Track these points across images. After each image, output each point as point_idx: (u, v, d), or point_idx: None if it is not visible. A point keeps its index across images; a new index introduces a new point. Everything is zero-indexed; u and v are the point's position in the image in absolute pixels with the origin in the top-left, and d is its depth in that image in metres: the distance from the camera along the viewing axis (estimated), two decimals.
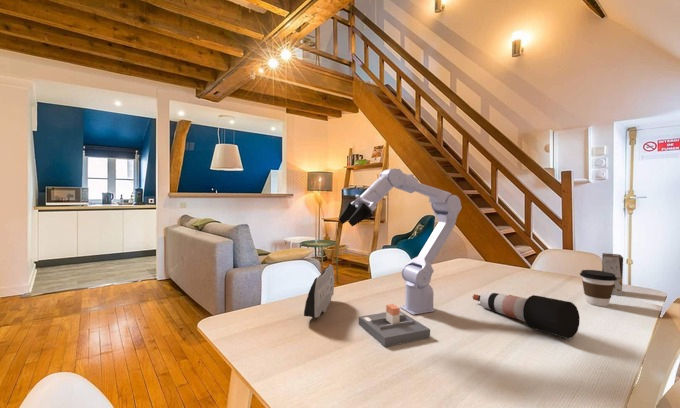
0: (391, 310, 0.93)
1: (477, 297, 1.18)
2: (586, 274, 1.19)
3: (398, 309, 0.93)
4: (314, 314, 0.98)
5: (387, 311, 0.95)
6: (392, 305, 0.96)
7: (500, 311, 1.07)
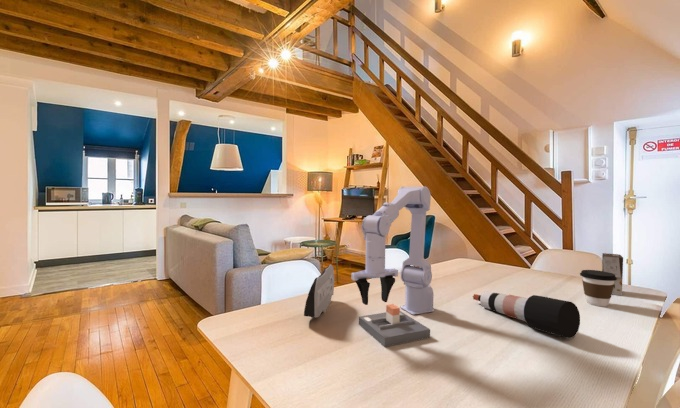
0: (391, 310, 0.93)
1: (477, 297, 1.18)
2: (586, 274, 1.19)
3: (398, 309, 0.93)
4: (314, 314, 0.98)
5: (387, 311, 0.95)
6: (392, 305, 0.96)
7: (500, 311, 1.07)
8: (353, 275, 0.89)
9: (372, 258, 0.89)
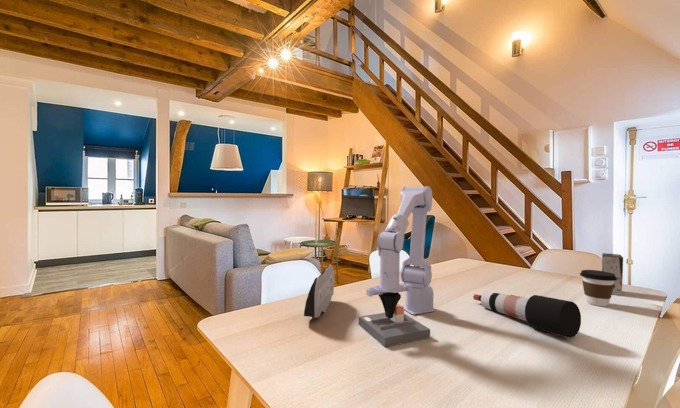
0: (395, 309, 0.94)
1: (478, 297, 1.18)
2: (586, 274, 1.19)
3: (402, 308, 0.94)
4: (314, 314, 0.98)
5: None
6: None
7: (501, 311, 1.07)
8: (368, 291, 0.91)
9: (387, 274, 0.91)
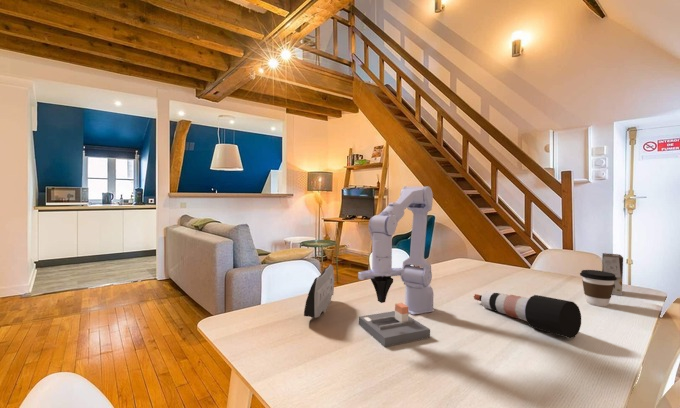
0: (400, 309, 0.94)
1: (478, 297, 1.18)
2: (586, 274, 1.19)
3: (407, 308, 0.95)
4: (314, 314, 0.98)
5: (396, 310, 0.97)
6: (401, 304, 0.97)
7: (501, 311, 1.07)
8: (360, 274, 0.90)
9: (379, 257, 0.90)
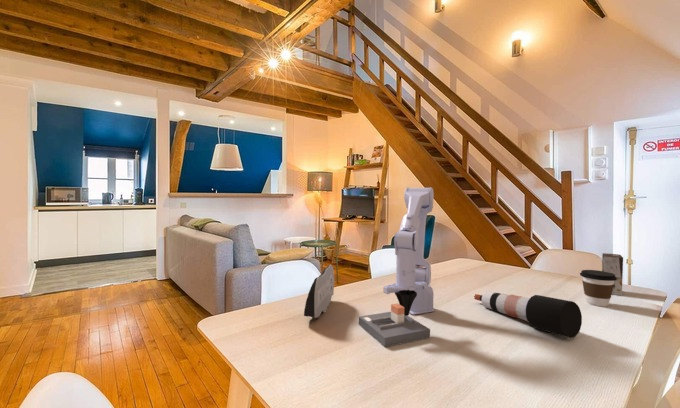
0: (396, 309, 0.94)
1: (479, 297, 1.18)
2: (586, 274, 1.19)
3: (403, 308, 0.94)
4: (314, 314, 0.98)
5: (392, 310, 0.96)
6: (397, 304, 0.96)
7: (502, 311, 1.07)
8: (385, 288, 0.93)
9: (403, 272, 0.94)
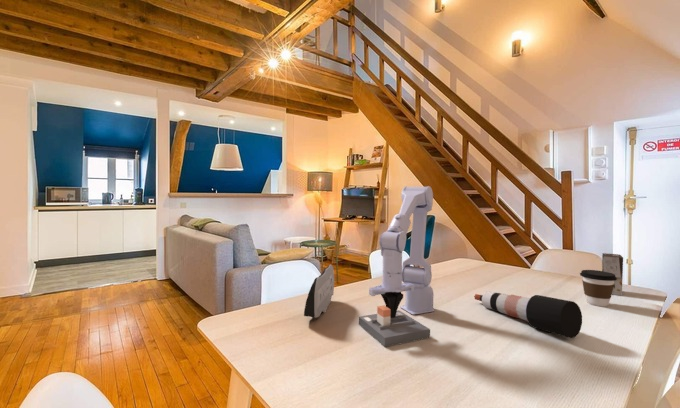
0: (382, 311, 0.92)
1: (479, 297, 1.18)
2: (586, 274, 1.19)
3: (389, 310, 0.92)
4: (314, 314, 0.98)
5: (378, 312, 0.94)
6: (383, 306, 0.95)
7: (502, 311, 1.07)
8: (371, 290, 0.91)
9: (389, 274, 0.92)
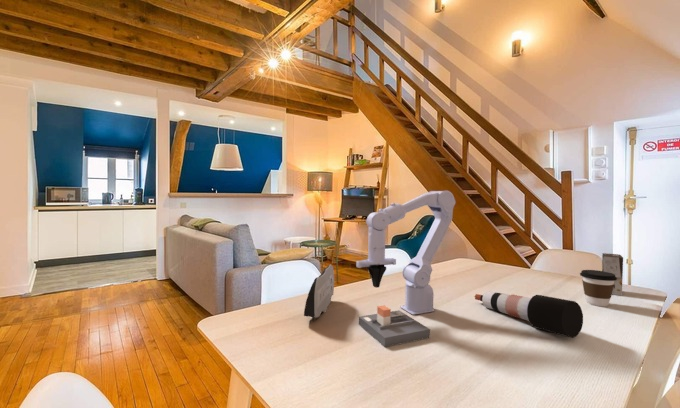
0: (382, 311, 0.92)
1: (479, 297, 1.18)
2: (586, 274, 1.19)
3: (389, 310, 0.92)
4: (314, 314, 0.98)
5: (378, 312, 0.94)
6: (383, 306, 0.95)
7: (503, 311, 1.07)
8: (358, 263, 1.05)
9: (374, 248, 1.05)
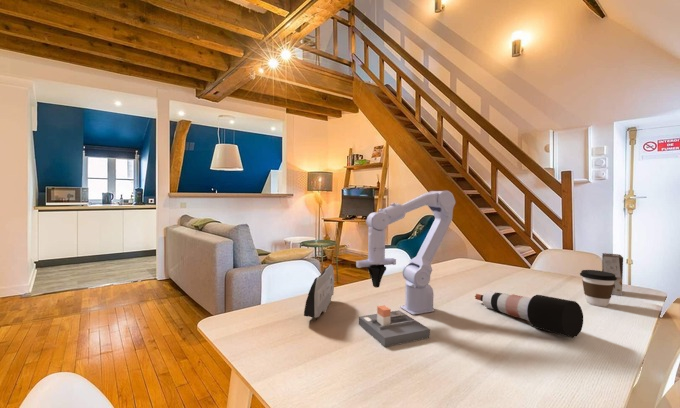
0: (382, 311, 0.92)
1: (479, 297, 1.19)
2: (586, 274, 1.19)
3: (389, 310, 0.92)
4: (314, 314, 0.98)
5: (378, 312, 0.94)
6: (383, 306, 0.95)
7: (503, 311, 1.08)
8: (358, 263, 1.05)
9: (374, 248, 1.05)
